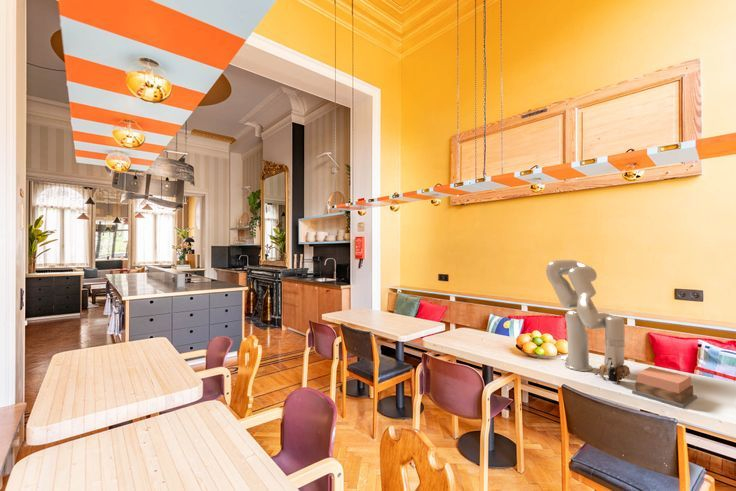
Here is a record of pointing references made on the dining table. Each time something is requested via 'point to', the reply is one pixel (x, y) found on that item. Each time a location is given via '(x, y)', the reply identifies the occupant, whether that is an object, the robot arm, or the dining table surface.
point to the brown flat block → (665, 393)
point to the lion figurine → (620, 372)
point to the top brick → (664, 379)
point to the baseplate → (667, 400)
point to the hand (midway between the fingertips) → (615, 379)
